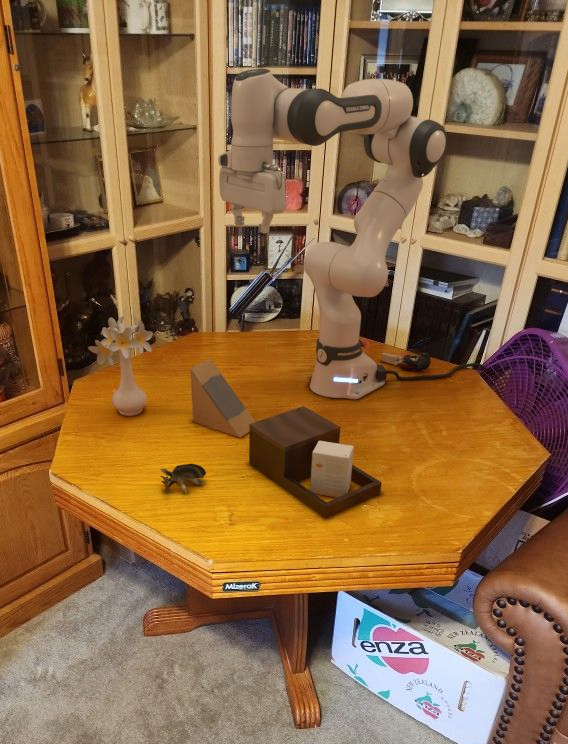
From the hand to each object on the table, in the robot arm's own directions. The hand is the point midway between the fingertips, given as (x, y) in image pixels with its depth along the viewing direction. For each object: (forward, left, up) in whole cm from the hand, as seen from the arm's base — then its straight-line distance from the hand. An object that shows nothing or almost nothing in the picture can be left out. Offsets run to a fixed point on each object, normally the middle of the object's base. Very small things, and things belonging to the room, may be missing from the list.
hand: (251, 228), depth 149 cm
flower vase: (+24, -21, -48) cm, 57 cm away
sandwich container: (+7, -1, -48) cm, 48 cm away
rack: (+6, +33, -47) cm, 58 cm away
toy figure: (-59, 0, -48) cm, 76 cm away
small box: (+6, +39, -48) cm, 61 cm away
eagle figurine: (+32, +19, -48) cm, 60 cm away
